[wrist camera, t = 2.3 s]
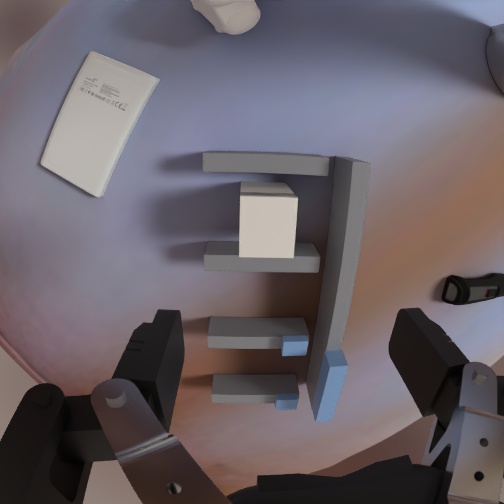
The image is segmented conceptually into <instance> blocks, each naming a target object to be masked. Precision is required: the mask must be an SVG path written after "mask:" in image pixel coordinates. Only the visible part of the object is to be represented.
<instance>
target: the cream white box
mask: <svg viewBox="0 0 504 504" xmlns="http://www.w3.org/2000/svg"><path fill="white" fill-rule="evenodd" d="M297 206H298V197H297V196H296V195H295V194H294V193H293V191H292V190H291V189H290V188H289V187H288V185H287V184H286V183H282V182H251V181H241V190H240V232H239V257H256V258H294V247H295V234H296V220H297Z"/></svg>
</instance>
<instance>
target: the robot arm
mask: <svg viewBox="0 0 504 504" xmlns="http://www.w3.org/2000/svg"><path fill="white" fill-rule="evenodd" d="M491 31H492V34H491V36H490V37H489V38H488V41H487V47H486V53H487V60H488V65H489V68H490V71H491V74H492V76H493V78H494V80H495V82H496V84H497V85H498V87H499V88H500V90H501V91H502V92H503V93H504V24H500V25H497V26H493V27H491ZM389 355H390V358H391V360H392V361H393V363H394V365H395V367H396V368H397V370H398V372H399V374H400V375H401V377H402V379H403V381H404V383H405V384H406V386H407V388H408V390H409V392H410V394H411V395H412V397H413V399H414V401H415V403H416V405H417V407H418V408H419V410H420V412H421V414H422V416H423V417H425V416H429V415H433V414H436V416H437V418H436V419H435V421H434V423H433V426H432V430H431V434H430V437H429V440H428V444H427V447H426V450H425V453H424V457H423V459H422V462H421V464H412V463H411V460H410V458H409V455H405V456H402V457H397V458H393V459H389V460H385V461H380V462H376V463H374V464H371V465H369V466H367V467H364V468H363V469H360V470H358V471H355V472H353V473H351V474H348V475H345V476H342V477H328V476H317V475H307V474H299V473H298V474H283V475H258V476H257V485H255V486H251V487H247V488H244V489H241V490H239V491H236V492H234V493H232V494H230V495H228V496H225V495H224V494H223V493H222V492H221V491H220V489H219V488H218V487H217V486H216V485H215V484H214V483H213V481H212V480H211V479H210V478H209V477H208V476H207V474H206V473H205V472H204V471H203V470H202V469H201V467H200V466H199V465H198V464H197V462H196V461H195V460H194V459H193V457H192V456H191V455H190V454H189V452H188V451H187V450H186V449H185V447H184V446H183V445H182V443H181V442H180V441H179V440H178V439H177V437H176V436H174V435H173V434H172V435H169V434H168V433H169V429H170V424H171V419H172V414H173V409H174V405H175V400H176V395H177V390H178V386H179V381H180V377H181V372H182V368H183V363H184V339H183V330H182V320H181V313H180V311H179V310H163V309H159V310H158V311H157V313H156V315H155V318H154V320H153V322H152V323H145V322H144V323H142V324H141V325H140V326H139V327H138V328H136V329H135V330H134V332H133V334H132V336H131V338H130V340H129V342H128V344H127V346H126V350H124V352H123V355H122V357H121V359H120V361H119V363H118V365H117V368H116V370H115V372H114V374H113V376H112V379H109V380H106V381H103V382H101V383H100V384H98V385H97V386H96V387H95V388H94V389H93V391H92V393H91V394H90V395H81V396H67V397H65V396H64V394H63V392H62V390H61V389H60V388H59V387H58V386H56V385H54V384H49V383H43V384H39V385H36V386H34V387H32V388H31V389H29V390H28V391H27V392H26V394H25V395H24V397H23V399H22V400H21V402H20V404H19V406H18V407H17V410H16V411H15V413H14V415H13V417H12V419H11V421H10V423H9V425H8V427H7V429H6V431H5V433H4V435H3V437H2V439H1V441H0V504H83V500H84V496H85V492H86V487H87V483H88V479H89V475H90V471H91V467H92V464H93V462H95V461H110V460H118V462H119V464H120V466H121V468H122V470H123V472H124V473H125V475H126V477H127V479H128V480H129V482H130V484H131V486H132V487H133V489H134V491H135V492H136V494H137V496H138V497H139V499H140V500H141V502H142V504H504V503H502V502H500V501H499V499H500V493H501V487H502V480H503V478H504V376H496V374H495V372H494V371H493V370H492V369H491V368H490V367H489V366H487V365H485V364H483V363H480V362H469V360H468V359H467V358H466V357H465V355H464V354H463V353H462V352H461V350H460V349H459V348H458V347H457V346H456V344H455V343H454V342H452V340H451V338H450V337H449V336H447V334H446V332H445V331H444V330H443V329H442V328H441V327H440V326H439V325H438V324H436V323H435V322H433V321H432V320H430V319H429V318H428V317H427V316H426V315H425V314H424V312H423V311H422V310H421V309H420V308H406V309H400V310H399V312H398V314H397V317H396V321H395V324H394V328H393V331H392V334H391V338H390V341H389Z"/></svg>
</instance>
